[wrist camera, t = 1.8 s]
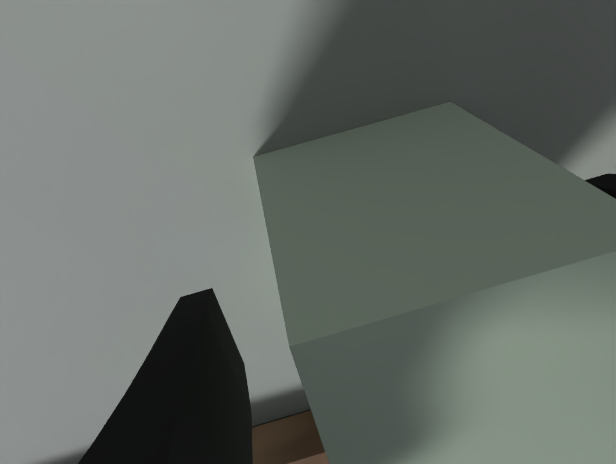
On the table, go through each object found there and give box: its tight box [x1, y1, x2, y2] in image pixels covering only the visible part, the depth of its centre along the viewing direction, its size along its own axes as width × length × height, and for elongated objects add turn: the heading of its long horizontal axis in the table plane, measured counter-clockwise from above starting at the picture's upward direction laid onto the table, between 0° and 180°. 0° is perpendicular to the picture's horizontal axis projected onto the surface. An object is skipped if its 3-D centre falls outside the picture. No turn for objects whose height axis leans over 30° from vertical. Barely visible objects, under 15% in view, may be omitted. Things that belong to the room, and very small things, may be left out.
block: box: [253, 102, 616, 464], centre depth 9 cm, size 4×4×6 cm
